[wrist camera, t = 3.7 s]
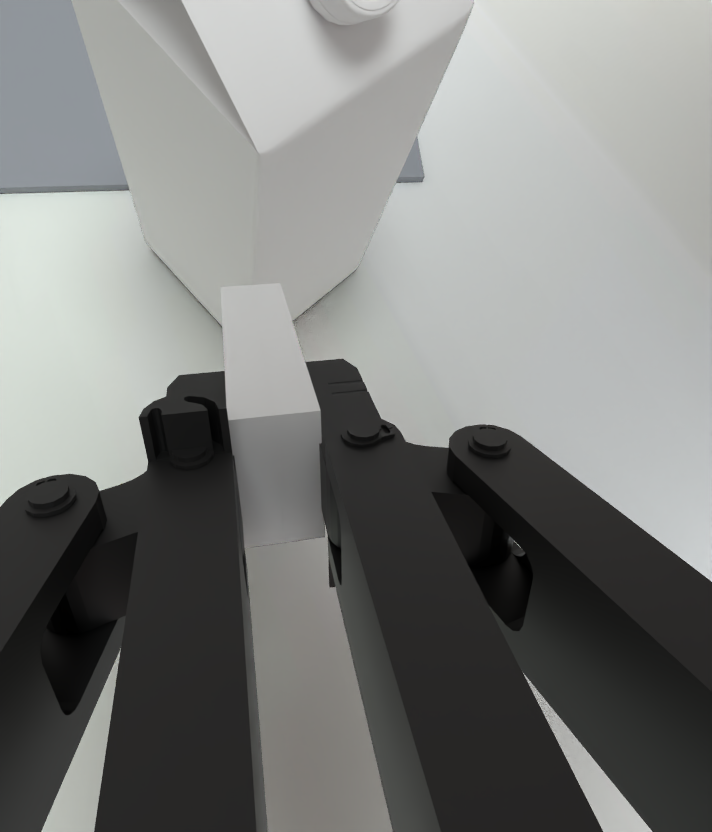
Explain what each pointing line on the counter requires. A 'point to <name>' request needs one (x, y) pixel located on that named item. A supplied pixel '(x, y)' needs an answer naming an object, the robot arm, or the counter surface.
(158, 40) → the milk carton
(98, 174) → the mat
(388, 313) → the counter surface
